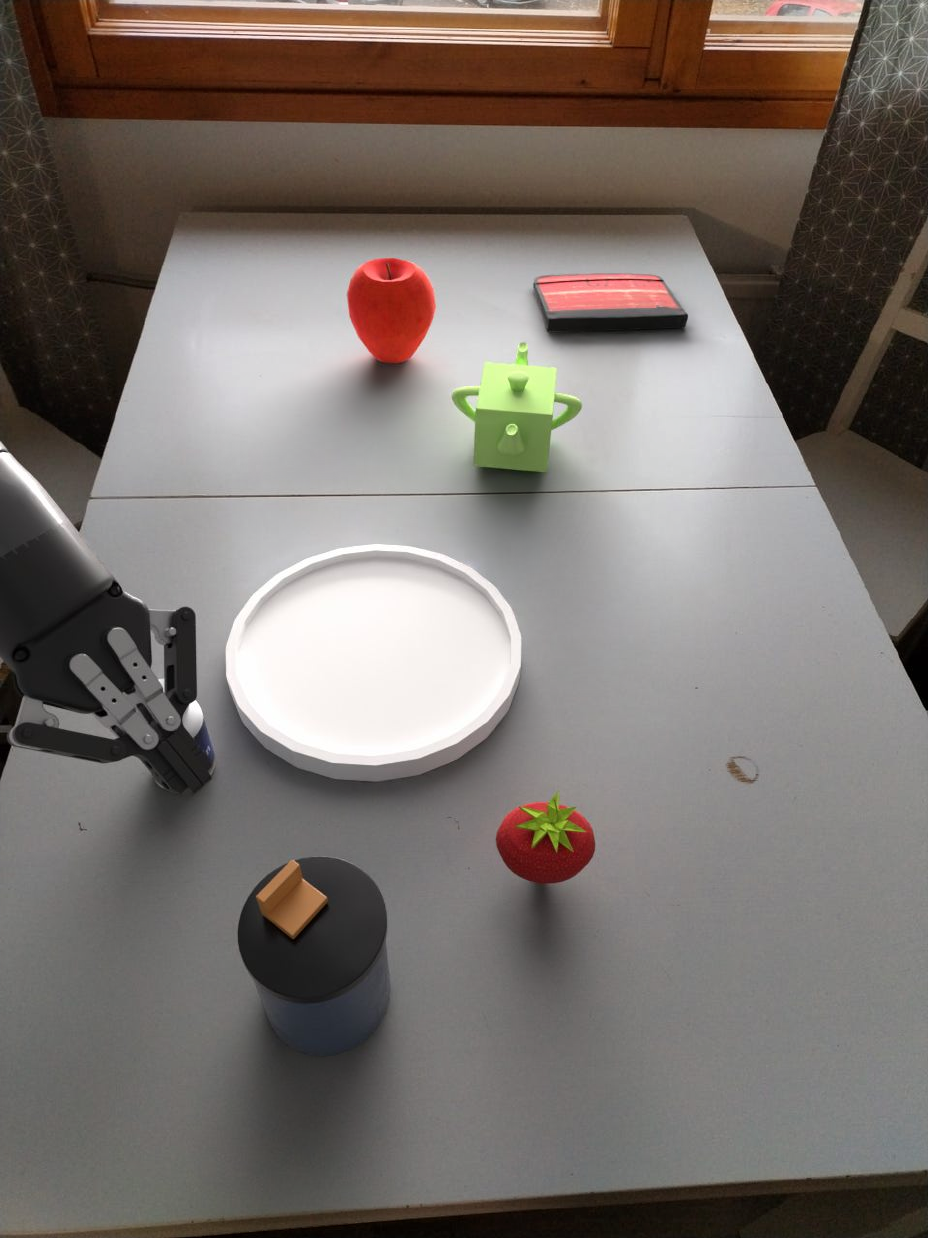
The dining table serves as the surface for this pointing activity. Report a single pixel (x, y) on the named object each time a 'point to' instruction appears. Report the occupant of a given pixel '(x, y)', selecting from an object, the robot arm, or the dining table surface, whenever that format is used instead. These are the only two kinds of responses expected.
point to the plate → (374, 662)
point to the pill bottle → (196, 731)
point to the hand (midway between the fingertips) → (198, 786)
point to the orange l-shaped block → (290, 900)
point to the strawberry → (545, 841)
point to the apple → (391, 307)
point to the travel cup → (322, 960)
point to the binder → (607, 302)
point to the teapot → (515, 413)
